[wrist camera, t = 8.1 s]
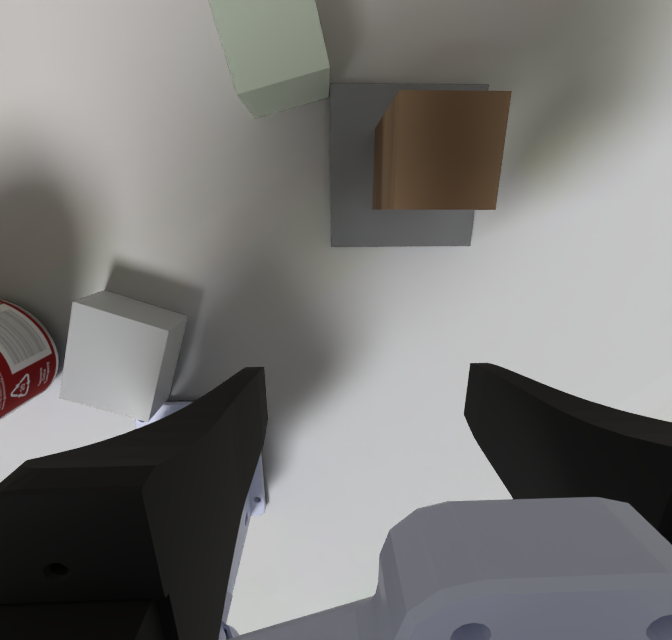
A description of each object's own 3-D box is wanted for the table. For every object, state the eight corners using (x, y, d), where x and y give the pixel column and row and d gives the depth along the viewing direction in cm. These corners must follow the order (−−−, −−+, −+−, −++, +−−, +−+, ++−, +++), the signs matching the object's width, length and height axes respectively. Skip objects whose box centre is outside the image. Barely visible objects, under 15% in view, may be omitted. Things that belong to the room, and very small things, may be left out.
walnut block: (372, 209, 19) (393, 209, 13) (374, 128, 18) (399, 89, 12) (443, 209, 19) (495, 209, 13) (451, 128, 18) (511, 91, 12)
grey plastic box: (170, 396, 23) (148, 422, 20) (93, 374, 22) (59, 398, 20) (189, 315, 21) (168, 331, 18) (107, 289, 21) (72, 301, 18)
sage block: (328, 97, 18) (330, 67, 14) (255, 118, 18) (237, 94, 14) (307, 5, 17) (302, -55, 13) (228, 29, 17) (201, -24, 13)
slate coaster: (466, 244, 20) (470, 245, 20) (331, 245, 20) (331, 246, 20) (483, 88, 18) (488, 84, 17) (329, 87, 18) (330, 83, 17)
